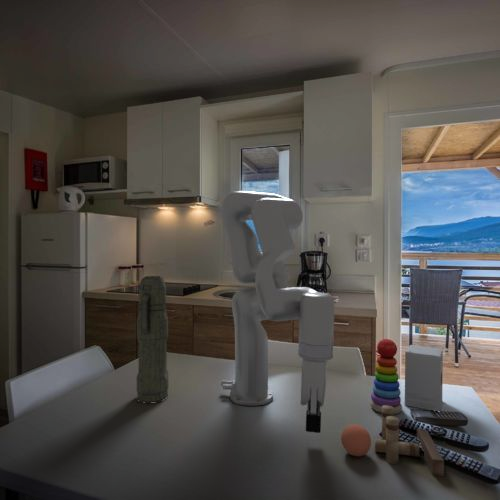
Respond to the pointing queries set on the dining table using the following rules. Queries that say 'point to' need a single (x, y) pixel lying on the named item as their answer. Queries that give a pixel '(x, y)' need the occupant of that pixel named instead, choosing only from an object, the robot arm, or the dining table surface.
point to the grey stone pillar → (152, 340)
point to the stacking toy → (386, 378)
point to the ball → (356, 440)
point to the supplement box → (423, 377)
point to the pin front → (404, 447)
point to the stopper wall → (431, 453)
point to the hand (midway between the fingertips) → (313, 430)
